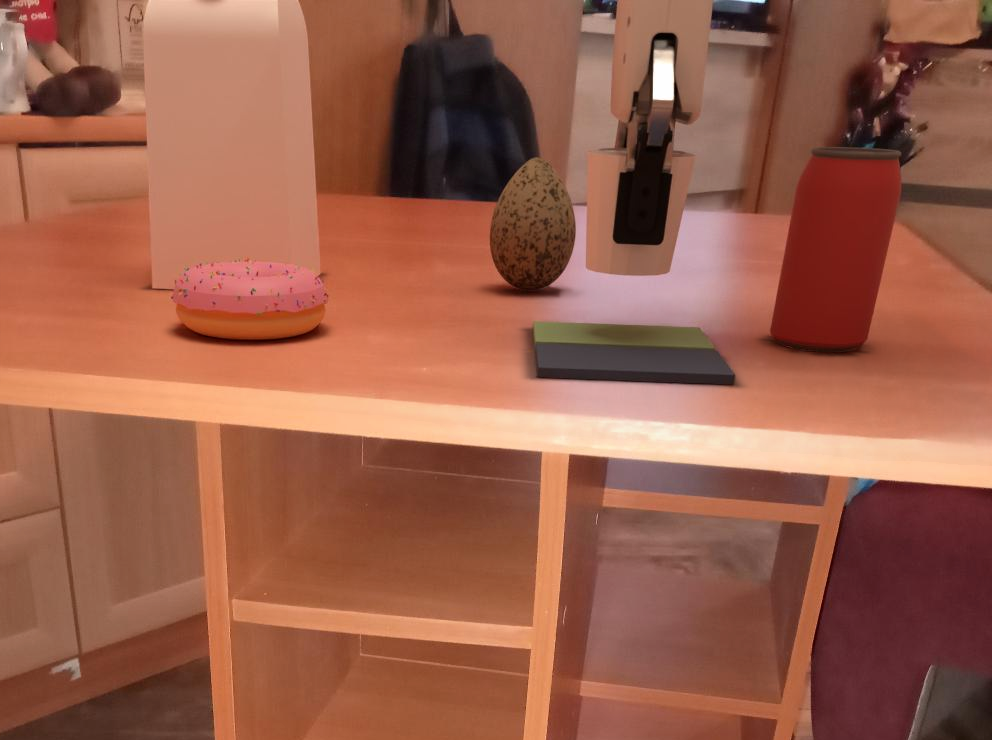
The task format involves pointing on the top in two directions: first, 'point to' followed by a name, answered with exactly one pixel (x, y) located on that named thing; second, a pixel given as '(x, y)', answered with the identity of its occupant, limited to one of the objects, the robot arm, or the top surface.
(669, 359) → the slate mat
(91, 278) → the top surface
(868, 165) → the beer can
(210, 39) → the milk
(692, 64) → the robot arm
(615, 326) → the sage mat
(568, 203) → the decorative egg
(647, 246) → the cup
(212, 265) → the doughnut
